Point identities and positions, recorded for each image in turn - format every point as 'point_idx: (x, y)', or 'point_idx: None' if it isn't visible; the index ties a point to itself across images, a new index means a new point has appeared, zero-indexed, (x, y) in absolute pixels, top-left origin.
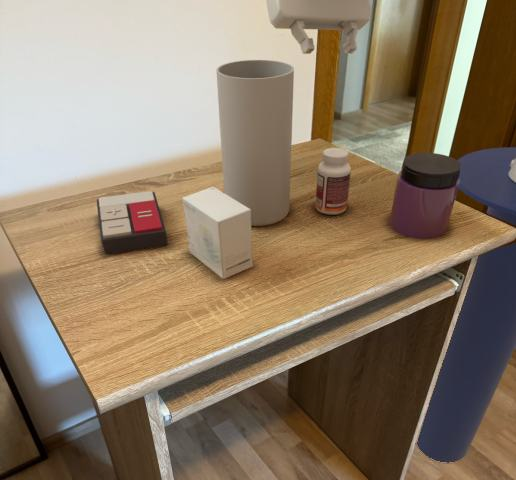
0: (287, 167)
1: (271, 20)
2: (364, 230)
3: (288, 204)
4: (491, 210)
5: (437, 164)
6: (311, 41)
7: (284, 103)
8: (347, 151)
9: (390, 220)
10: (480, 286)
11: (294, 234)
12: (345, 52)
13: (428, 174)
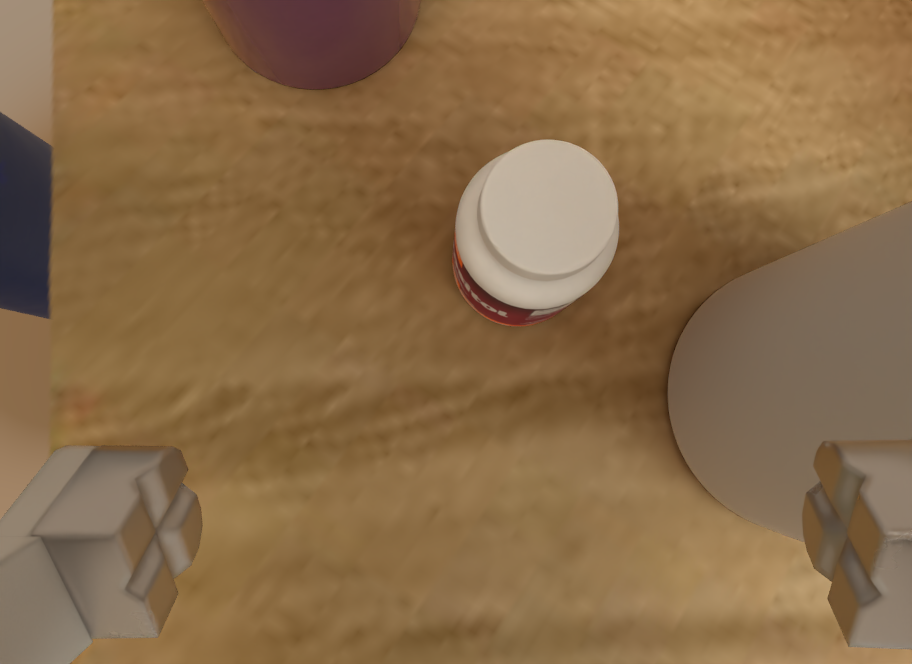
0: (829, 238)
1: None
2: (513, 61)
3: (721, 292)
4: None
5: None
6: (901, 499)
7: None
8: (486, 182)
9: (402, 36)
10: (7, 176)
11: (754, 171)
12: (197, 528)
13: None
